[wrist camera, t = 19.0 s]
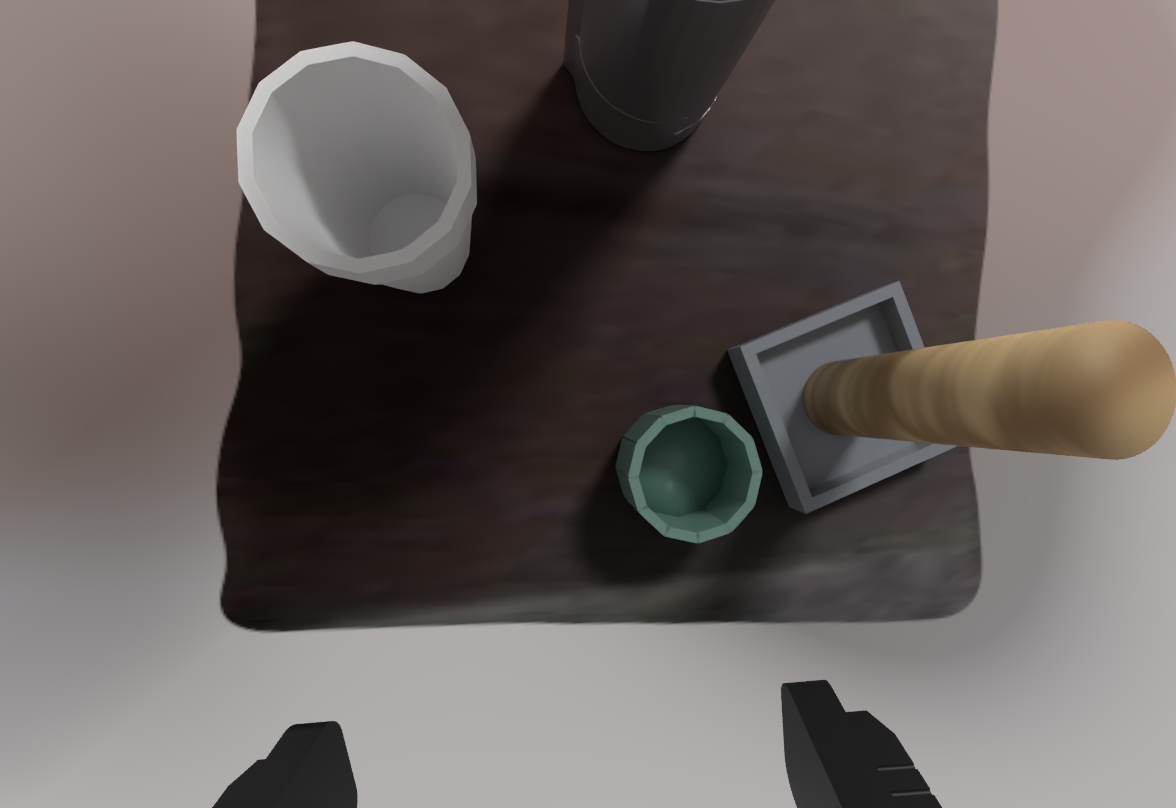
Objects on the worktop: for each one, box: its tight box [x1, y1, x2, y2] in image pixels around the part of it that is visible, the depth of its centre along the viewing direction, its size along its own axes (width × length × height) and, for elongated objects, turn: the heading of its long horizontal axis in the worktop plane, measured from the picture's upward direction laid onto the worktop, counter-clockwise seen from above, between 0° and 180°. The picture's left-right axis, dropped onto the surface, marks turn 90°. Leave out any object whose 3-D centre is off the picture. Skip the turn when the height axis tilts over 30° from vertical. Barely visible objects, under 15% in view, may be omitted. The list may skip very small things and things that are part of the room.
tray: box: [727, 281, 956, 514], centre depth 38 cm, size 12×12×2 cm
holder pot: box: [615, 405, 762, 543], centre depth 35 cm, size 8×8×5 cm
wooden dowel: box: [803, 320, 1176, 459], centre depth 29 cm, size 5×5×18 cm
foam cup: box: [237, 41, 477, 293], centre depth 30 cm, size 10×9×13 cm
